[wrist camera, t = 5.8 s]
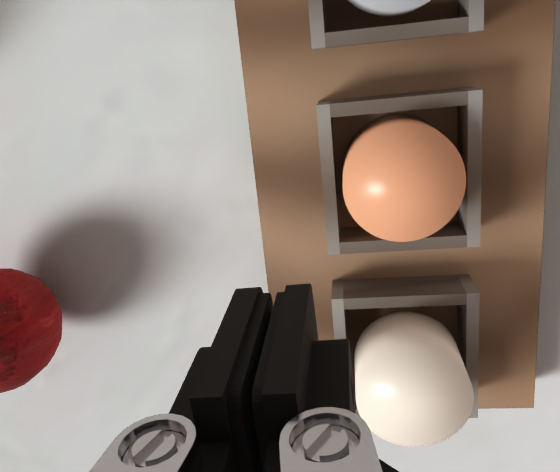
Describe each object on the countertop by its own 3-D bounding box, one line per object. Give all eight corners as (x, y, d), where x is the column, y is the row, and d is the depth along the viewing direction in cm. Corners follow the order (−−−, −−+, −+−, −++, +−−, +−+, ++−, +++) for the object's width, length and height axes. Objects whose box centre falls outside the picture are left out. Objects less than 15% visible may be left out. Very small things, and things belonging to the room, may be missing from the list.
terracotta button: (339, 119, 22) (338, 128, 19) (450, 109, 21) (466, 117, 18) (346, 222, 23) (346, 245, 20) (450, 215, 23) (465, 238, 20)
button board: (228, -126, 21) (204, -164, 18) (544, -176, 20) (591, -230, 16) (286, 387, 29) (277, 437, 25) (520, 383, 27) (548, 436, 23)
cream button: (351, 313, 23) (352, 349, 20) (458, 309, 22) (474, 346, 19) (357, 401, 24) (358, 447, 21) (458, 399, 24) (473, 446, 21)
